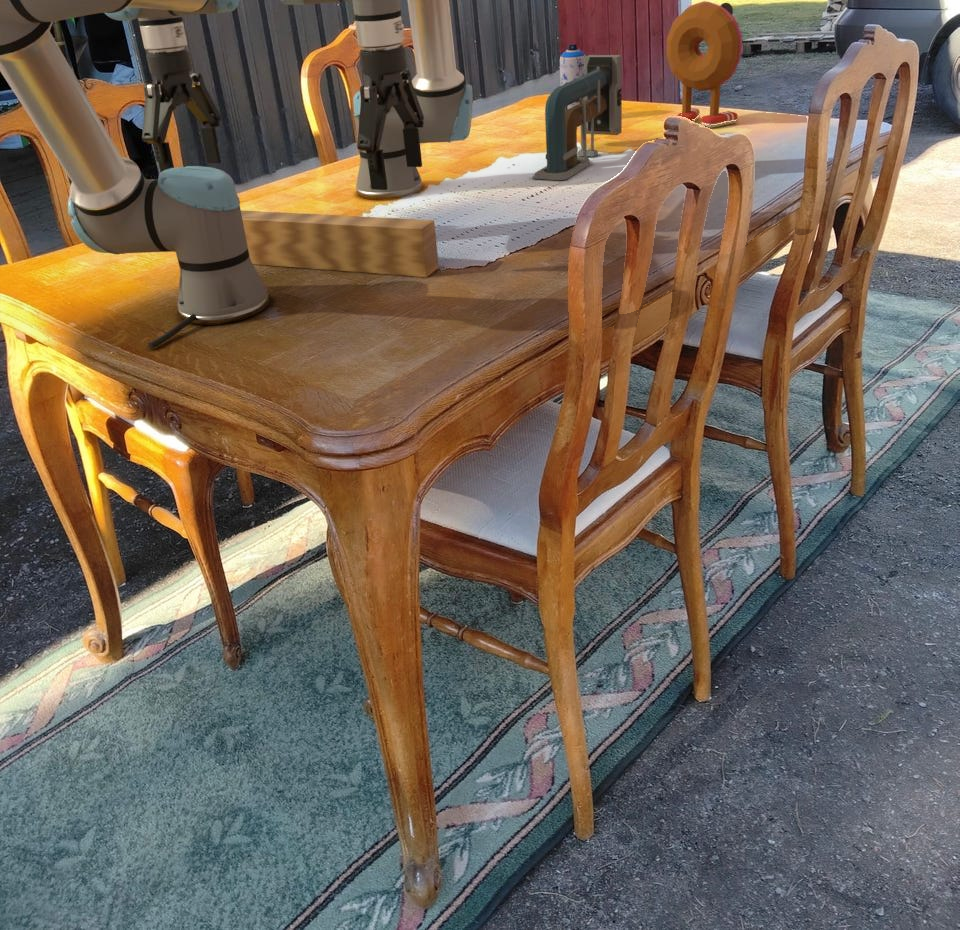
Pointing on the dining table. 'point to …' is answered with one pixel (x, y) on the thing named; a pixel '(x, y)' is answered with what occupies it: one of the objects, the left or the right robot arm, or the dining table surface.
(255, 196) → the dining table surface
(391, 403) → the dining table surface
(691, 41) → the toy
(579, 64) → the aerosol can
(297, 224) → the beam
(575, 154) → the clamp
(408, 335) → the dining table surface
